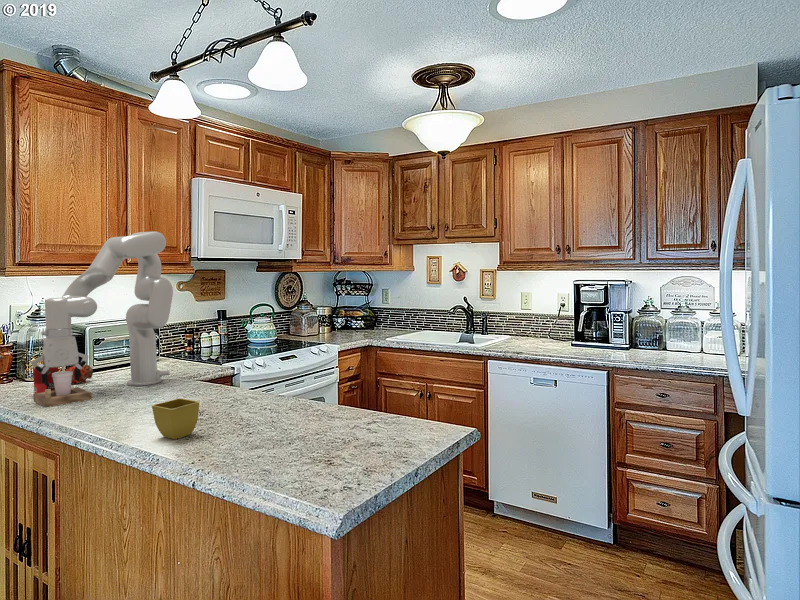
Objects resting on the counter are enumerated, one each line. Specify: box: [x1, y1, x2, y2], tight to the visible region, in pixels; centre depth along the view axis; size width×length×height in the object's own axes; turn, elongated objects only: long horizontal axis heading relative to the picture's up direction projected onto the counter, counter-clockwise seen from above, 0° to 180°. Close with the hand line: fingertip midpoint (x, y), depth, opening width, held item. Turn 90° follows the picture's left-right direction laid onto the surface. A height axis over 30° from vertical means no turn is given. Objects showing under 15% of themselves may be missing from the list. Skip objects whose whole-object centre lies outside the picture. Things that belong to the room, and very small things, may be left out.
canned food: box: [32, 363, 60, 394], centre depth 199 cm, size 8×8×11 cm
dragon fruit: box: [65, 364, 94, 384], centre depth 219 cm, size 8×8×12 cm
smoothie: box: [52, 366, 73, 396], centre depth 189 cm, size 6×6×14 cm
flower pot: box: [151, 398, 200, 440], centre depth 146 cm, size 9×9×9 cm
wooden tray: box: [33, 386, 92, 408], centre depth 189 cm, size 14×14×6 cm
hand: (61, 382), depth 189 cm, fingers open, 9 cm apart
